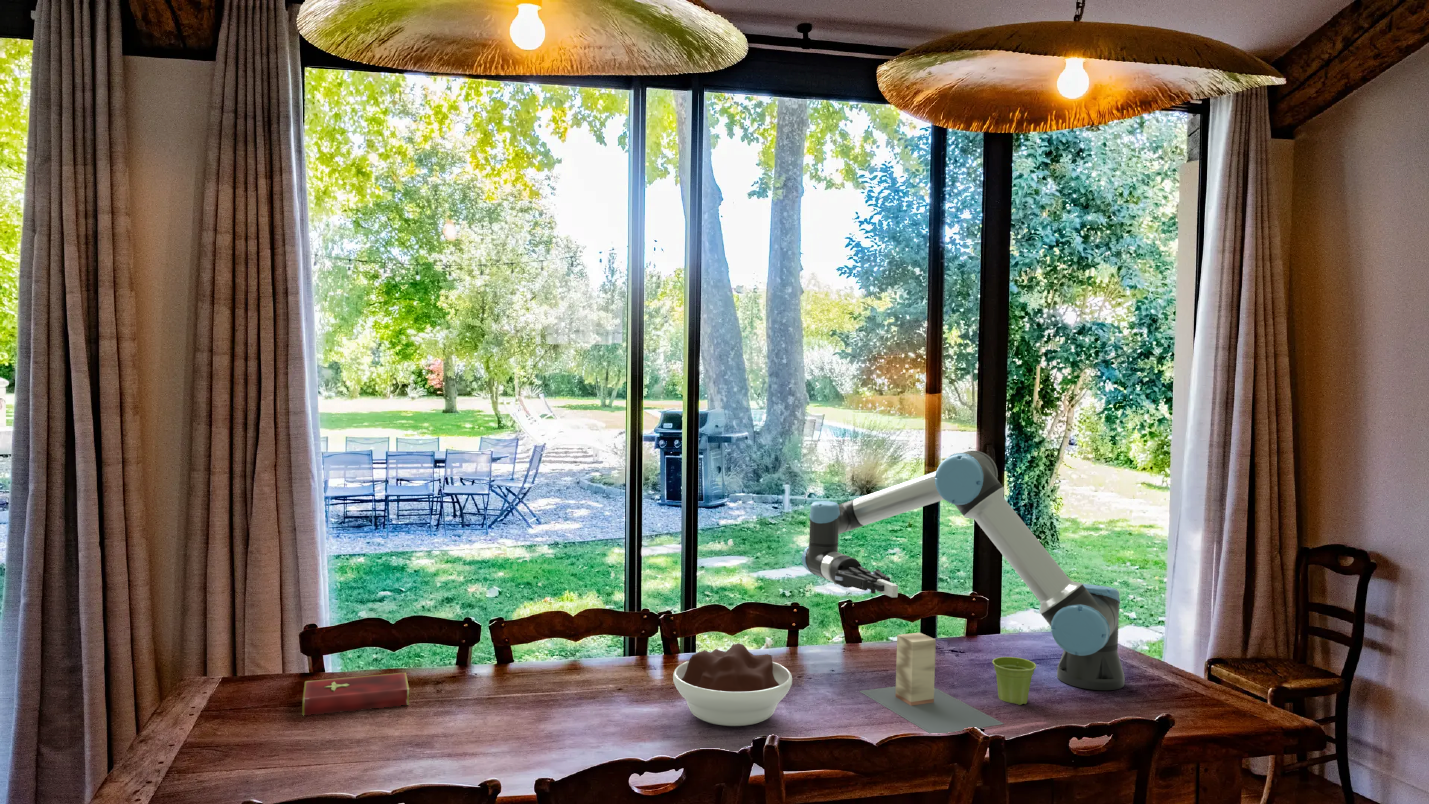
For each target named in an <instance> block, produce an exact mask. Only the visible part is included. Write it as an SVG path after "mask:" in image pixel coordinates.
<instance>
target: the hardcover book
mask: <svg viewBox="0 0 1429 804" xmlns="http://www.w3.org/2000/svg"><path fill="white" fill-rule="evenodd" d="M407 675H408V674H407V672H397V673H385V674H372V675H364V676H363V675H362V676H361V675H360V676H352V677H341V678H329V679H328V678H326V679H319V680H318V679H317V680H305V681H304V685H303V686H304V687H303V693H302V702H301V703H302V704H301V705H302V710H301V715H303V716H302V717H305V716H304V715H308V716H312V715H311V714H318V715H325V714H324V713H328V714H334V713H333V712H338V713H341V712H340V711H348V712H357V711H356V710H358V711H362V710H361V709H368V710H371V709H370V708H379V709H385V708H384V707H389V708H394V707H393V706H399V707H402V706H401V705H409V706H410V685H409V683H408V677H407Z"/></svg>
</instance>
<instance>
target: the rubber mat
mask: <svg viewBox="0 0 1429 804" xmlns="http://www.w3.org/2000/svg"><path fill="white" fill-rule="evenodd" d="M858 692H859V693H861V694H862V695H865V696H866V697H868V698H870V699H871V700H873V701H874V702H876V703H878V704H879V705H881V706H883V707H885V708H886V709H888V710H890V711H891V712H893V713H895V714H896V715H898V716H899V717H902V718H903V719H905V720H907V721H908V722H910V723H911V724H913V725H915V726H916V727H918V728H920V729H922V730H923V731H924V732H926V733H927V734H930V733H946V734H949V733H948V732H952V733H956V732H955V731H958V732H963V731H962V730H963V729H964V728H968V727H978V728H977V729H982V728H989V727H990V728H991V727H995V726H1000V725H1001V726H1002V725H1005V723H1004V722H1002V721H1000V720H998V719H996V718H994V717H992V716H991V715H989V714H987V713H985V712H983V711H981V710H979V709H977V708H975V707H973V706H971V705H970V704H968V703H966V702H963V701H962V700H960V699H957V698H956V697H954V696H952V695H950V694H948V693H947V692H945V691H942V690H940V689H939V688H936V687H935V686H934V702H933V703H926V704H919V705H912V706H911V705H909V704H907V703H906V702H904V701H902V700H900V699H898V698H897V697H895V695H896V685H895V686H894V685H893V686H889V687H880V688H872V689H863V690H859V691H858Z"/></svg>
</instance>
